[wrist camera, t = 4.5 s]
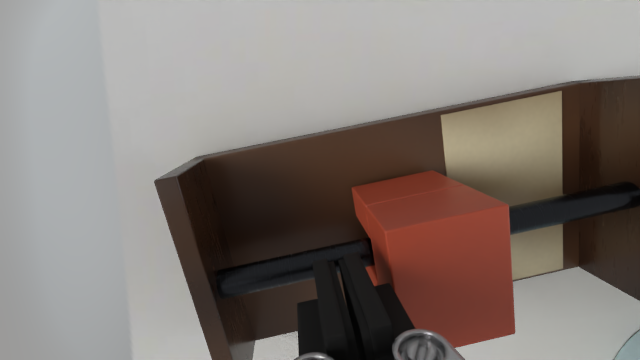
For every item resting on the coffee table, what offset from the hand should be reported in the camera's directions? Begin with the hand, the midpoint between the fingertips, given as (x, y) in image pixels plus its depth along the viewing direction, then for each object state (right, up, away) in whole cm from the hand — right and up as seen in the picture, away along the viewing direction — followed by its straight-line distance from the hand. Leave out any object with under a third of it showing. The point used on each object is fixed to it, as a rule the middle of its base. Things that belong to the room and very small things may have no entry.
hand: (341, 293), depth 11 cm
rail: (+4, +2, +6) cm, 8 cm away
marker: (+3, +2, +4) cm, 6 cm away
